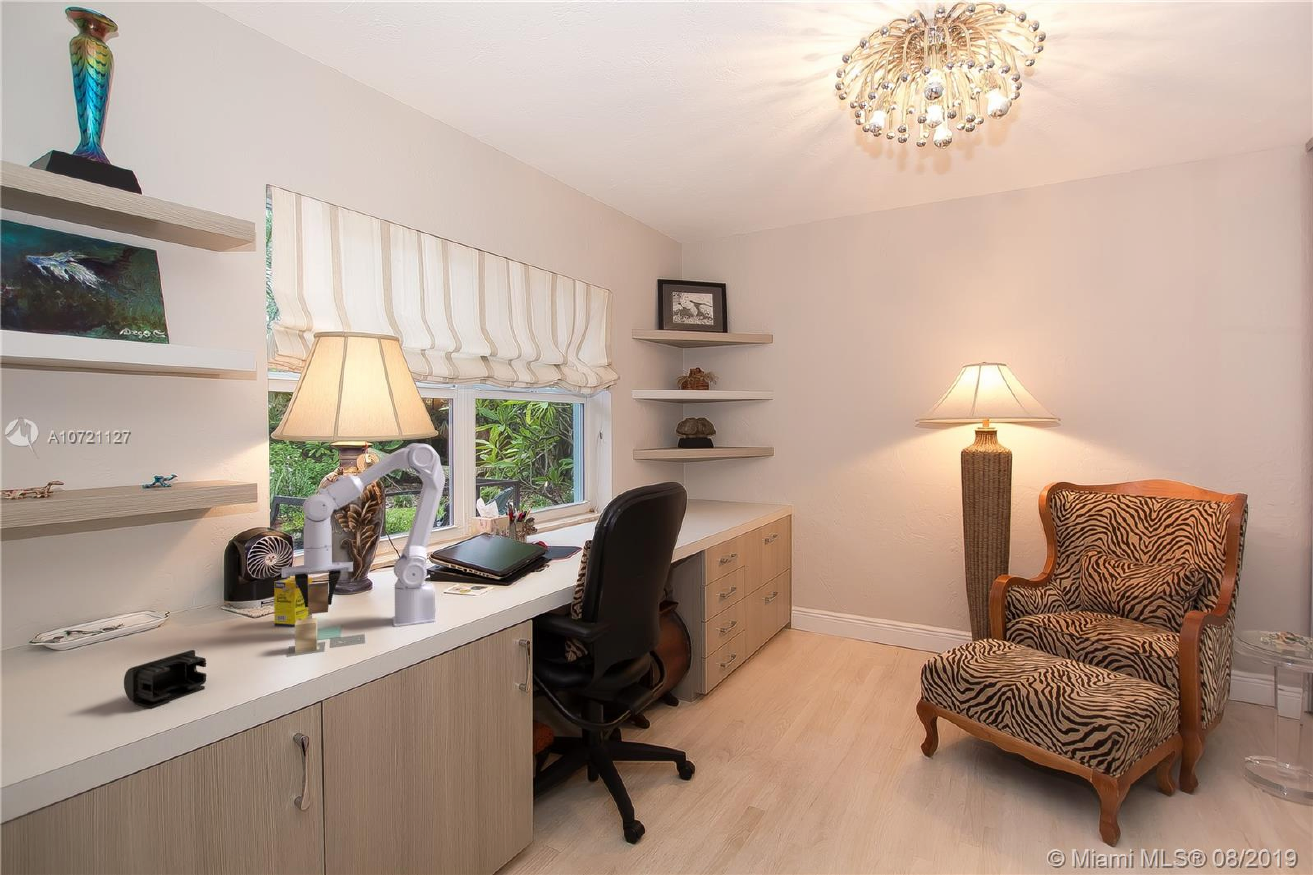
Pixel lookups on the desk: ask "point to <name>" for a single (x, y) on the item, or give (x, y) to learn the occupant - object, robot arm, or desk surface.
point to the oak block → (306, 635)
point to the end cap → (165, 680)
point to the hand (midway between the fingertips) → (318, 605)
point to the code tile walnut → (347, 640)
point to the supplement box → (289, 603)
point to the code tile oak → (319, 649)
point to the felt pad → (328, 633)
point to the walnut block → (318, 598)
